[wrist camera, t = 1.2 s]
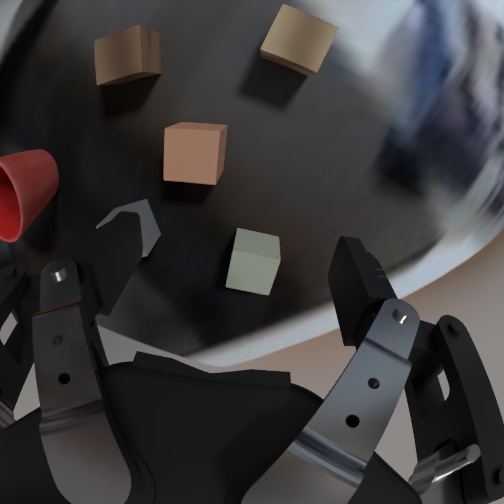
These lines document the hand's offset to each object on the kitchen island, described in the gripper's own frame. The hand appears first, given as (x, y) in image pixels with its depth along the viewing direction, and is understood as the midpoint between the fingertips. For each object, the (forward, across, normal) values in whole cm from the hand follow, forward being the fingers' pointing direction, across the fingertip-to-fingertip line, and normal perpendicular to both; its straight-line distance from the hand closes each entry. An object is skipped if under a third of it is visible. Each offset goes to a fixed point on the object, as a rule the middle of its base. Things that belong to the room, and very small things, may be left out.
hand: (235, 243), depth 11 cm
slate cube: (+19, +14, +10) cm, 26 cm away
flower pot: (+20, +30, +4) cm, 36 cm away
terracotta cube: (+19, +5, 0) cm, 20 cm away
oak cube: (+19, -3, -11) cm, 23 cm away
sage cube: (+19, -1, +13) cm, 23 cm away
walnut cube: (+20, +13, -10) cm, 25 cm away
